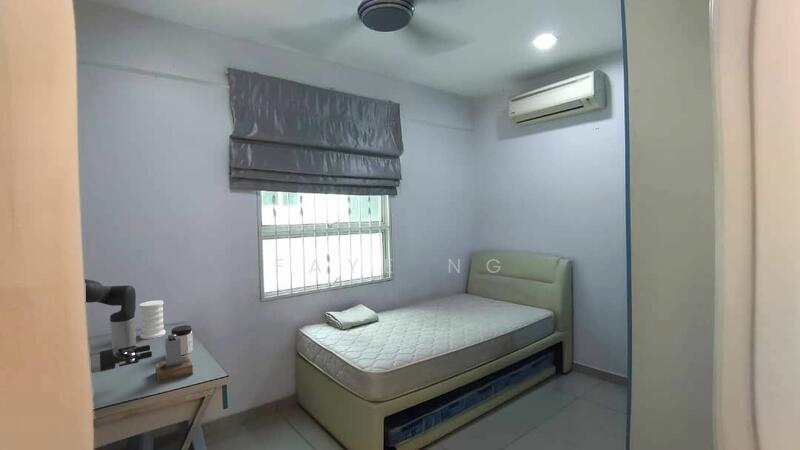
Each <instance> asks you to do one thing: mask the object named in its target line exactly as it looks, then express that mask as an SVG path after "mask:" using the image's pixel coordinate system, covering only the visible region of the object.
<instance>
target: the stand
mask: <svg viewBox="0 0 800 450" xmlns="http://www.w3.org/2000/svg"><path fill="white" fill-rule="evenodd" d="M181 361H182V365H179V366H175V367H171V368H166V365H165V362H166V360H163V361H160V362H156V363H155V374H156V377H157V382H158V384H163V383H166V382H169V381H172V380H173V381H174V380H177V379H180V378H185V377H189V376H192V375H193V374H194V370H193V367H194V365H193V363H192V362H191V359H190V357H189V356H188V355H184V356H181Z"/></svg>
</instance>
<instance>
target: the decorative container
mask: <svg viewBox="0 0 800 450" xmlns="http://www.w3.org/2000/svg"><path fill="white" fill-rule="evenodd" d="M163 305H164V300H161V299H160V300H157V299H156V300H149V301H145V302H141V303H140V304H139V308H140V314H141V317H140V320H141V323H140V324H141V329H140V330H141V332H142V333H141V334H139V337H140V339H141V338H142V339H141V340H152V338H153V339H157V338H160V337H164V336H165V335H166V330H165V329H164V327H165V325H164V312H163V311H164V307H163Z"/></svg>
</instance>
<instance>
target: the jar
mask: <svg viewBox="0 0 800 450" xmlns="http://www.w3.org/2000/svg"><path fill="white" fill-rule="evenodd" d="M171 334H176V335H177V336H179V338H180V344H181V356H187V355H189V354H190V353H191V352H193V351H194V342H193V336H194V335H193V331H192V326H190V325H187V324H185V325H179V326H176V327H173V328H171Z"/></svg>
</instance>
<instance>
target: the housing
mask: <svg viewBox="0 0 800 450" xmlns="http://www.w3.org/2000/svg"><path fill="white" fill-rule="evenodd" d="M164 349H165V353H164V354H165V361H166V362H165V365H166V368H171V367H175V366H179V365H182V361H181V357H182V355H181V344H180V338H179V336H177V335H176V334H172V333H171V334H169V335H168V336H167V337H166V338H164Z"/></svg>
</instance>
